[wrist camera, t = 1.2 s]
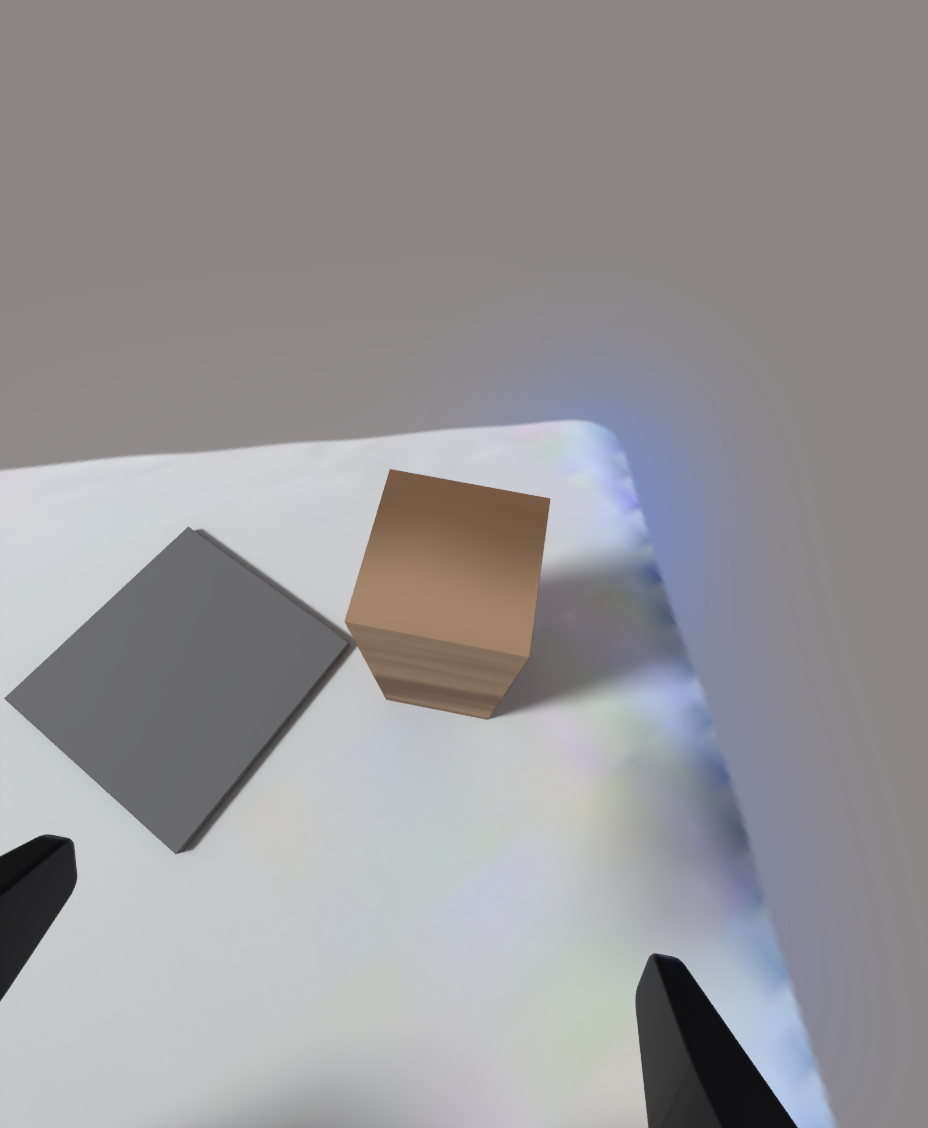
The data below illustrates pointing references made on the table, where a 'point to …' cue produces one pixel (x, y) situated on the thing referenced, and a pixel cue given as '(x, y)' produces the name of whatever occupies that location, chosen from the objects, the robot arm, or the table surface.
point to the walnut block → (448, 591)
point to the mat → (178, 684)
